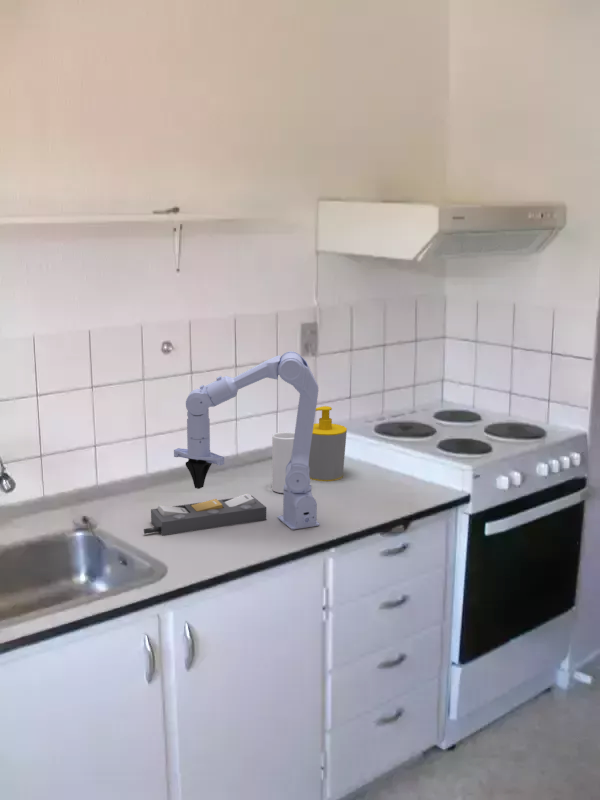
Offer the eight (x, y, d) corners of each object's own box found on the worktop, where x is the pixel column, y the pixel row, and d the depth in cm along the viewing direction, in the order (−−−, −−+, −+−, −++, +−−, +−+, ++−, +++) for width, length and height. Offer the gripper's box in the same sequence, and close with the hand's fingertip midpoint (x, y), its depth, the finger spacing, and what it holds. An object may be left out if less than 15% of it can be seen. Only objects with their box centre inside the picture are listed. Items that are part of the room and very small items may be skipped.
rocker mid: (223, 509, 233) (222, 504, 232) (197, 516, 230) (196, 510, 230) (216, 503, 237) (215, 498, 237) (191, 510, 234) (190, 505, 234)
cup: (291, 494, 252) (292, 439, 249) (266, 490, 256) (267, 436, 253) (305, 487, 259) (306, 433, 256) (281, 483, 263) (281, 430, 260)
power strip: (266, 519, 234) (266, 506, 233) (146, 537, 221) (146, 523, 220) (251, 507, 243) (251, 494, 242) (135, 524, 230) (135, 510, 229)
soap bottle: (300, 469, 277) (301, 402, 272) (342, 468, 279) (344, 402, 274) (305, 482, 265) (306, 412, 260) (349, 481, 266) (351, 412, 261)
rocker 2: (255, 503, 236) (253, 498, 236) (231, 512, 234) (229, 507, 234) (248, 497, 241) (247, 492, 240) (224, 507, 238) (223, 502, 238)
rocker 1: (188, 519, 229) (189, 513, 229) (162, 516, 226) (164, 510, 226) (182, 512, 233) (184, 507, 233) (157, 510, 230) (158, 504, 230)
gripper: (231, 437, 228) (231, 487, 231) (185, 429, 235) (185, 478, 238) (215, 443, 222) (215, 495, 225) (168, 435, 229) (169, 485, 232)
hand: (199, 487), depth 231 cm, fingers closed
